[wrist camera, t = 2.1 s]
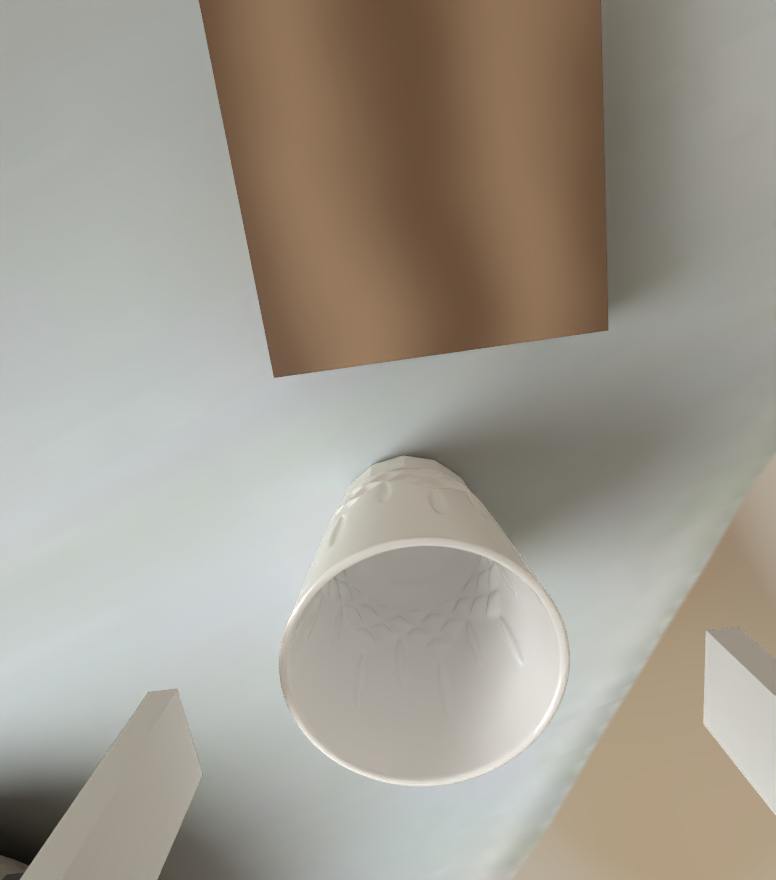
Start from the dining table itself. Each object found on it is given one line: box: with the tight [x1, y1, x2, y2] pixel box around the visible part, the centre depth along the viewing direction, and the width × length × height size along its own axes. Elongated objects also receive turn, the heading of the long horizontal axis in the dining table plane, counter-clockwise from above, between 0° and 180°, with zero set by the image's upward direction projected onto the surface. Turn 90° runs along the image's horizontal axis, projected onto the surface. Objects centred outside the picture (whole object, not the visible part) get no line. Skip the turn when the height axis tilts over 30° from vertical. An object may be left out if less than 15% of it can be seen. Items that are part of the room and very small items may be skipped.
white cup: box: [279, 456, 570, 786], centre depth 17 cm, size 8×8×10 cm
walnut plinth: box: [199, 0, 608, 378], centre depth 17 cm, size 12×12×4 cm
